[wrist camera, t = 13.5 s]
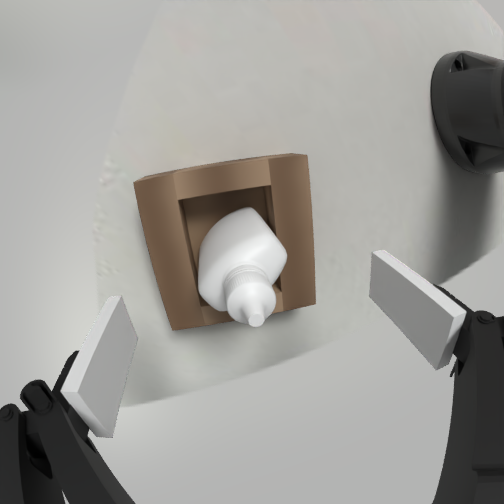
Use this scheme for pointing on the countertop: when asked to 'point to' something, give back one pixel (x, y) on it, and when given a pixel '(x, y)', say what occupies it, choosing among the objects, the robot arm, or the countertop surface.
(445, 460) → the robot arm
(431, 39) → the countertop surface
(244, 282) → the eye dropper bottle
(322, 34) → the countertop surface
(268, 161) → the walnut bottle stand
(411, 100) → the countertop surface
